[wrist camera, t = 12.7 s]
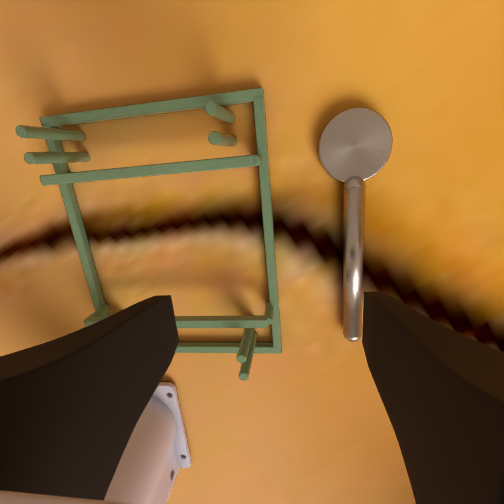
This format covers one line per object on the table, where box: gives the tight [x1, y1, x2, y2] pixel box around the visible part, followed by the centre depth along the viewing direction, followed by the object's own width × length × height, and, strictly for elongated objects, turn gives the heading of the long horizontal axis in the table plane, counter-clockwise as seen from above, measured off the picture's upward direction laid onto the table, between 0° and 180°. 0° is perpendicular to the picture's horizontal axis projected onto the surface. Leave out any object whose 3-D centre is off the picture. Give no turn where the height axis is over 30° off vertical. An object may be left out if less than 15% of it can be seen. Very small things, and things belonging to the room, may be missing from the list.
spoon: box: [318, 108, 392, 342], centre depth 18 cm, size 15×4×1 cm, turn 6°
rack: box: [16, 88, 282, 380], centre depth 19 cm, size 18×14×4 cm
